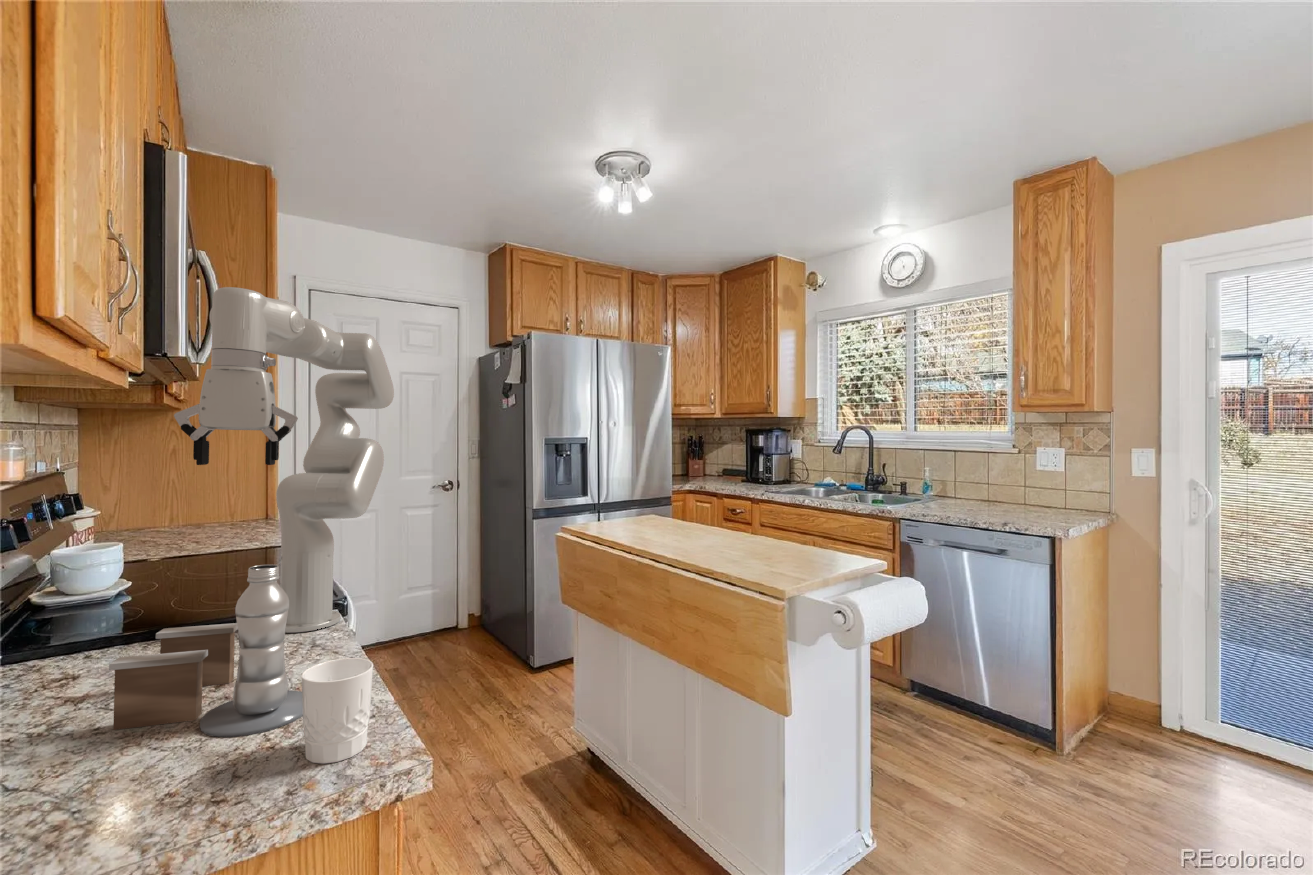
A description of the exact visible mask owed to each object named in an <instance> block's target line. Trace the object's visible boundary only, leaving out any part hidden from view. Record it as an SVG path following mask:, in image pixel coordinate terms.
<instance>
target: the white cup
mask: <svg viewBox="0 0 1313 875" xmlns="http://www.w3.org/2000/svg"><path fill="white" fill-rule="evenodd" d="M373 674H374V662H372V661H371V660H369V659H366V658H361V657H348V658H347V657H345V658H337V659H333V660H326V661H324V662H320V663H316V664H314V665H311V666H310V667H308V668H306V669H305V670H304V671H303V672H302V673H301V692H302V710H303V716H302V726H303V736H304V743H305V745H304V746H305V753H304V754H305V759H306V760H308V762H310V763H313V764H323V765H324V764H330V763H331V764H332V763H338V762H341V761H344V760H347V759H350V758H353V757H355V756H356V755H358V754H359V753H361V752H362V751H363V750H364V749H365V747H366V746H367V744H368V730H369V729H368V728H369V725H368V724H369V721H370V713H371V704H372V703H371V702H372V690H373V689H372V688H373Z"/></svg>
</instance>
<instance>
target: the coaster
mask: <svg viewBox="0 0 1313 875" xmlns="http://www.w3.org/2000/svg"><path fill="white" fill-rule="evenodd" d="M300 718H303V710H302V690H301V691H300V690H292V689H291V690H290V689H288V692H287V697H286V699H285V700H284V702H283V703H282V705H281V706H279V707H278V708H276V709H274V710H272V711H269V712H265V713H261V714H254V715H245V714H241V713H239V712H238V711H237V710H236V709H235V707H234V701H233V699H232V700H229V701H227V702H224V703H222V704H220V705H217V706H216V707H213V708H212V709H211V710H210V709H209V711H207V712H206V713H205V714H204V715H203V716H202V717H201V718H200V721H199V730H200V731H201V732H202V733H203V734H205V735H207V736H210V737H218V738H235V737H237V738H238V737H245V736H246V737H247V736H249V735H250V736H251V735H256V734H261V733H265V732H269V731H271V730H275V729H279V728H281V727H283V726H287V725H289V724H291V723H292V722H295V721H298V720H299V719H300Z"/></svg>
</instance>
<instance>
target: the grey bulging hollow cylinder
mask: <svg viewBox="0 0 1313 875" xmlns="http://www.w3.org/2000/svg"><path fill="white" fill-rule="evenodd" d="M247 573H248V574H247V576H248V577H247V579H246V581H247V583H249V585H248V586H247V588H246V589H245V590H244V591H243V592H242V594H241V596H240V597H239V598H238V599H237V601H236V605H235V609H234V610H235V618H236V623H237V627H238V629H237V633H238V646H239V648H238V651H239V652H238V653H239V656H238V665H237V674H236V679H235V684H234V687H233V693H232V700H233V701H234V707H235V709H236V710H237V711H238V712H239V713H241V714H245V715H254V714H261V713H265V712H269V711H272V710H274V709H276V708H278V707H279V706H281V705H282V703H283V702H284V700H285V699H286V697H287V692H288V690H289V681H288V675H287V672H286V663H285V662H286V661H285V641H284V640H285V636H286V633H285V627H286V621H287V616H288V609H289V599H288V596H287V594H286V593H285V591H284V590H283V589H282V588H281V587H280V584H279V583H278V580H280V576H281V574H280V566H279V565H278V564H260V565H254V566H250V567H248V569H247Z"/></svg>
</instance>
